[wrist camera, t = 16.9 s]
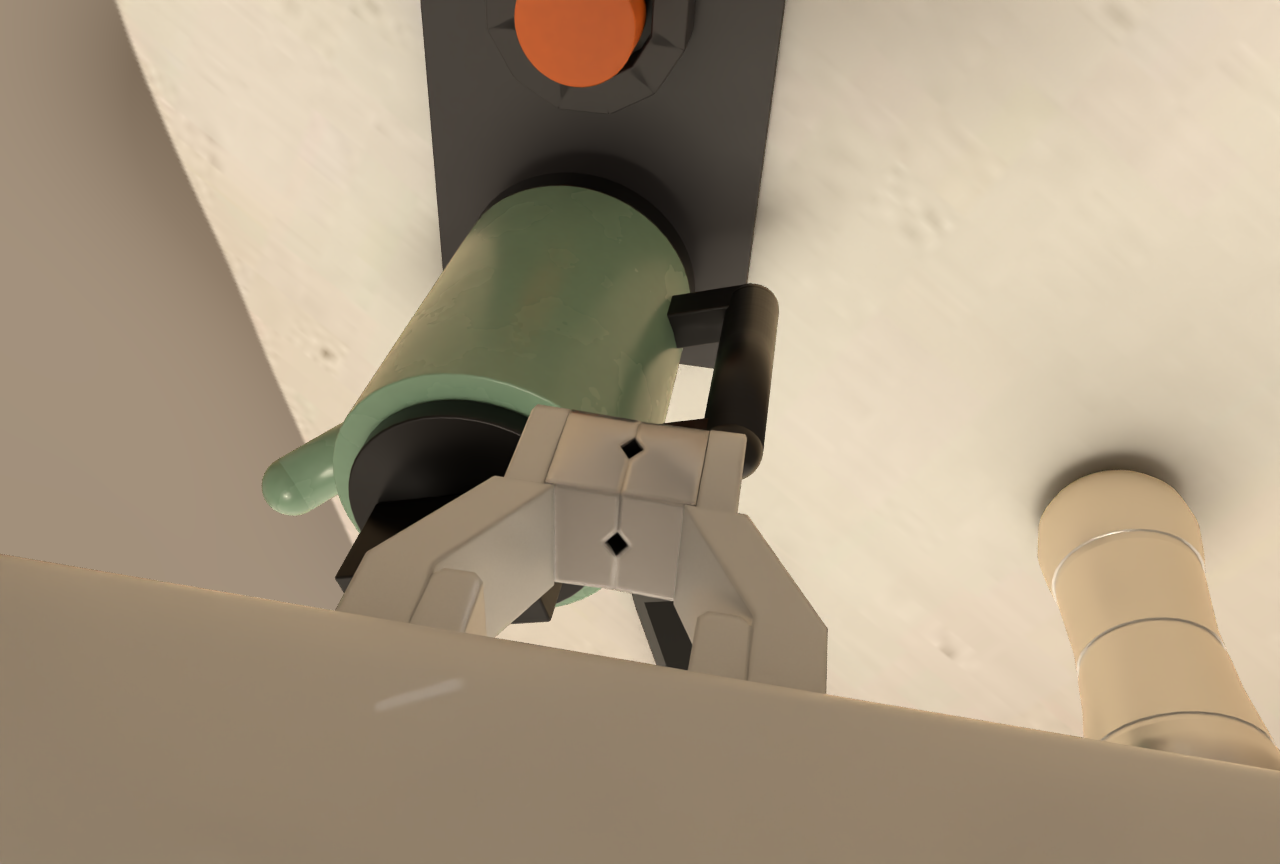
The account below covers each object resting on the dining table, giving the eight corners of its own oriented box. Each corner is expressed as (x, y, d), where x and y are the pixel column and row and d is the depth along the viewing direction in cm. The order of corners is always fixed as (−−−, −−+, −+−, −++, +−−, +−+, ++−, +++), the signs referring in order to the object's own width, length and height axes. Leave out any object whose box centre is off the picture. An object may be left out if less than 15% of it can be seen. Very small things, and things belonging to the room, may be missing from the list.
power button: (528, -63, 32) (511, -49, 31) (649, -52, 32) (639, -36, 30) (531, 61, 35) (515, 81, 33) (643, 74, 34) (633, 94, 33)
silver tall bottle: (1217, 476, 43) (1421, 939, 28) (1129, 575, 47) (1263, 1025, 32) (1077, 431, 43) (1204, 873, 27) (1002, 535, 47) (1075, 968, 32)
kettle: (760, 128, 34) (703, 427, 21) (806, 349, 39) (783, 700, 26) (343, 214, 39) (84, 499, 26) (432, 400, 44) (254, 717, 31)
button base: (414, -137, 33) (386, -123, 31) (799, -102, 32) (795, -86, 30) (451, 325, 45) (433, 356, 43) (735, 364, 44) (730, 398, 42)
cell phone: (686, 735, 61) (685, 746, 60) (629, 577, 53) (627, 587, 52) (805, 734, 59) (805, 745, 58) (765, 569, 51) (764, 579, 50)
